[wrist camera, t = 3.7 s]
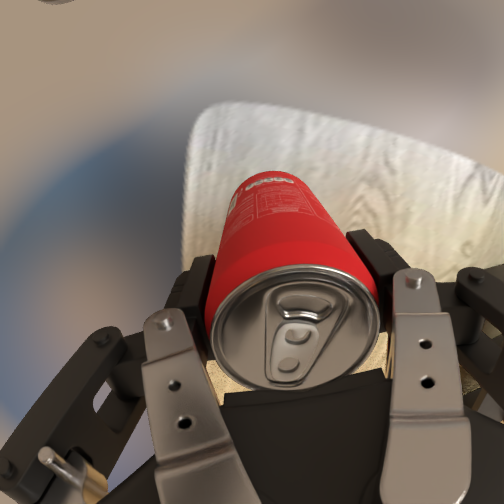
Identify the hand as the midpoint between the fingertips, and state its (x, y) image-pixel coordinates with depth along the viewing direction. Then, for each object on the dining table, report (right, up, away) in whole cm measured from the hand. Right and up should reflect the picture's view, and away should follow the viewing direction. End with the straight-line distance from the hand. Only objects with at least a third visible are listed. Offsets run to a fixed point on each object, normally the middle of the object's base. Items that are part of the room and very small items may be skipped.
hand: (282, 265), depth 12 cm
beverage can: (0, +3, +7) cm, 8 cm away
